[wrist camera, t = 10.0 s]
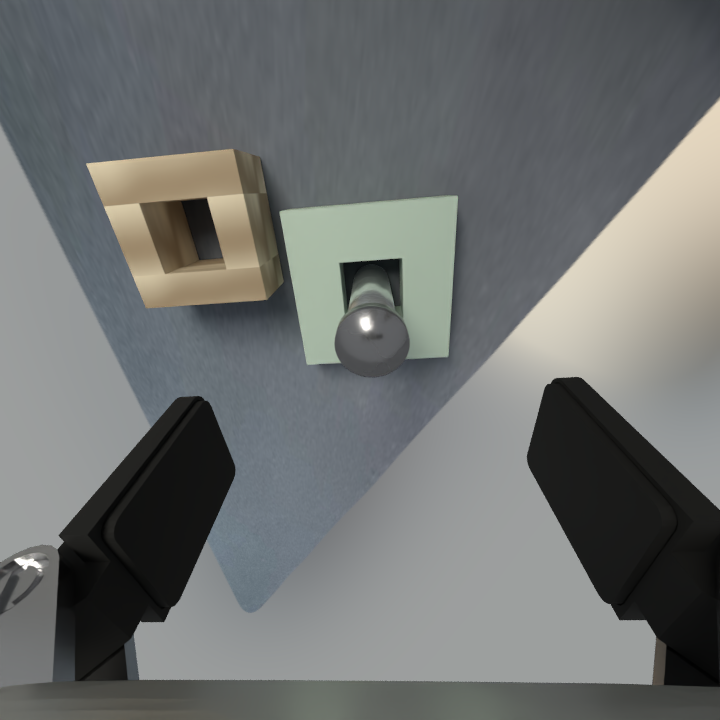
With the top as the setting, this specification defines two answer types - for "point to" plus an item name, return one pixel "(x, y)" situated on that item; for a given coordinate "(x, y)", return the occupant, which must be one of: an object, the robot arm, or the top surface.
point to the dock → (373, 242)
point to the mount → (172, 233)
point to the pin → (371, 327)
